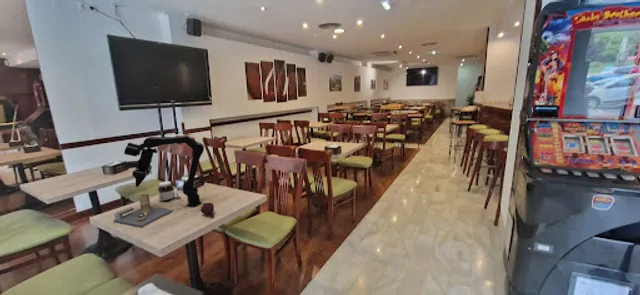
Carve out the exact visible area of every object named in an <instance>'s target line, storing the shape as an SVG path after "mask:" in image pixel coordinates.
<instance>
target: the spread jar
mask: <svg viewBox="0 0 640 295" xmlns="http://www.w3.org/2000/svg"><path fill="white" fill-rule="evenodd" d="M157 192H158V193H157V194H158V197H159V198H158V199H159V200H160V201H161V202H162V203H165V202H170V200H171V201H173V200H174V199H175V198H176V197H177V198H178V199H180V198H182V196H181V194H180V191H179V190H178V189H177V188H174V186H173V184H172V182H171V181H170V180H169V181H162V182H160V183H159V184H158V188H157Z"/></svg>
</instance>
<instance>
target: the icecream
mask: <svg viewBox="0 0 640 295" xmlns="http://www.w3.org/2000/svg"><path fill="white" fill-rule="evenodd" d="M214 207H215V205H214V203H211V202H204V203H203V202H202V206H201V208H200V213H202V214H204V216H205V215H206V216H210V217H211V218H214V217H215V215H214V211H215V208H214Z"/></svg>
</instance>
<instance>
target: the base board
mask: <svg viewBox="0 0 640 295" xmlns="http://www.w3.org/2000/svg"><path fill="white" fill-rule="evenodd" d="M173 212H174V210H173V209H170V208H163V207H156V206H152V210H151V211H150V212H149V214H148V215H147V217H146V219H145V220H143V221H137V217H138V216H137V215H138V214H141V213H142V211H141V207H140V208H139V209H136V210H133V211H130V212H128V213H126V214H123V219H122V220H116V219H115V218H114V220H113V222H114V223H116V224H122V225H128V226H133V227H136V228H141V229H142V228H144V227H146V226H148V225H149V224H151V223H153V222H156V221H157V220H159V219H162V218H163V217H165V216H168V215H169V214H171V213H173Z"/></svg>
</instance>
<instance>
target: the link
mask: <svg viewBox="0 0 640 295" xmlns="http://www.w3.org/2000/svg"><path fill="white" fill-rule="evenodd" d="M138 200H139V205H140V208H141V211H142V213H144V215H145V216H143V217H140V218H138V217H137V221H143V220H145V219H146V217H147V215H148V214H149V212H150V211H151V210H152V207H153V205H151V201H150V200H151V199H150V195H149V193H144V194H143V193H142V194H140V195H139V197H138Z"/></svg>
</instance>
